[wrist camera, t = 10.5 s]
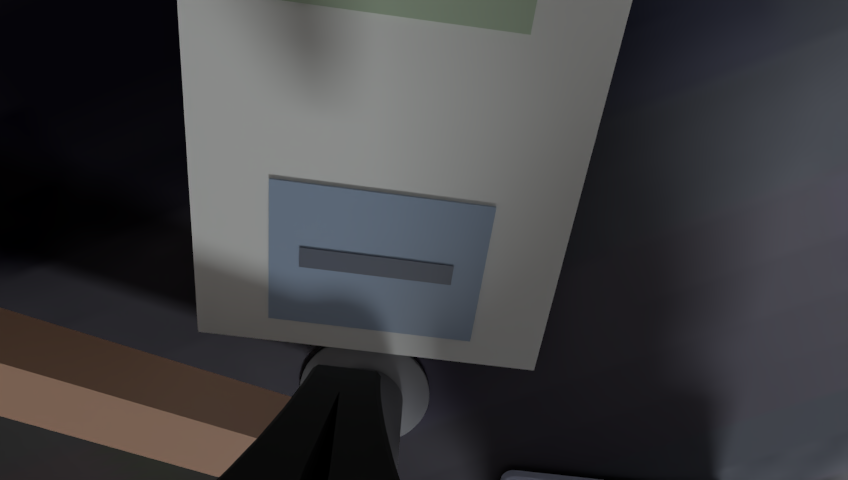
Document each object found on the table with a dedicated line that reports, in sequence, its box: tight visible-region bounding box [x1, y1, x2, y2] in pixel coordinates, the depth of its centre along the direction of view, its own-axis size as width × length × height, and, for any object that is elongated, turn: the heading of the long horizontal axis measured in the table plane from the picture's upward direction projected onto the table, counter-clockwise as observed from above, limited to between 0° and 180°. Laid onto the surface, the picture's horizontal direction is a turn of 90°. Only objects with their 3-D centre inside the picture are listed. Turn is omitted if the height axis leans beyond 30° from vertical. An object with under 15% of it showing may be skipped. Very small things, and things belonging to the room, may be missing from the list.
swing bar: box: [0, 308, 403, 477], centre depth 16 cm, size 22×3×4 cm, turn 69°
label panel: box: [177, 0, 632, 436], centre depth 16 cm, size 12×24×1 cm, turn 173°
